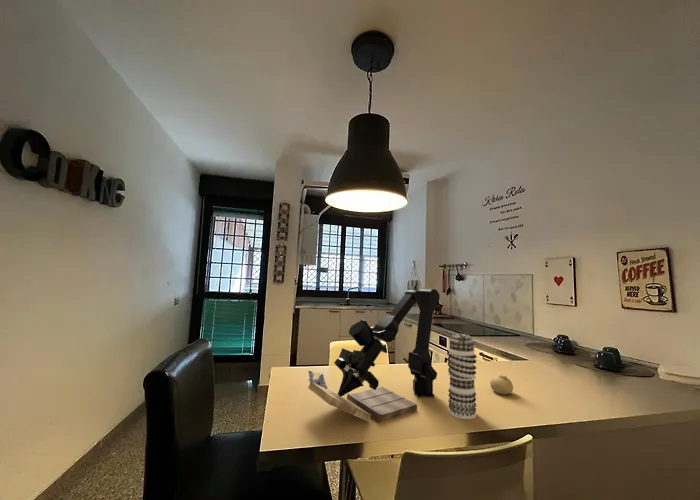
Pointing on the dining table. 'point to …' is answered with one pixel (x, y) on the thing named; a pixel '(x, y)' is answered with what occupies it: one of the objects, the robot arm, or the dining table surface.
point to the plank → (339, 402)
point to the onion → (501, 384)
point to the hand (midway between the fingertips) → (339, 395)
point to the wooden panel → (382, 403)
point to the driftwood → (317, 380)
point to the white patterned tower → (462, 376)
